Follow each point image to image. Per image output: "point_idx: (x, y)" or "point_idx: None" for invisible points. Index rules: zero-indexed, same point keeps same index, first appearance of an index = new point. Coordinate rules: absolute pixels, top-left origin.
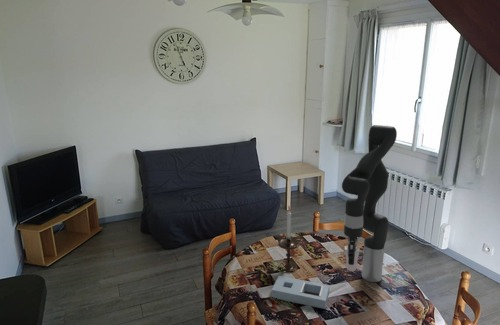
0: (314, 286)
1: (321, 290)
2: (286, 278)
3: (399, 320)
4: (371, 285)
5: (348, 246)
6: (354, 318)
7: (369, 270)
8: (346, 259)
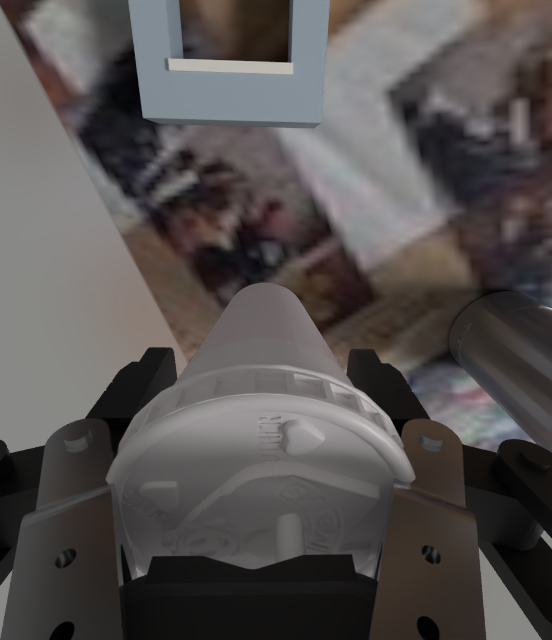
0: (292, 1)
1: (237, 69)
2: None
3: None
4: (423, 332)
5: (17, 622)
6: (154, 273)
7: (489, 350)
8: (222, 325)
